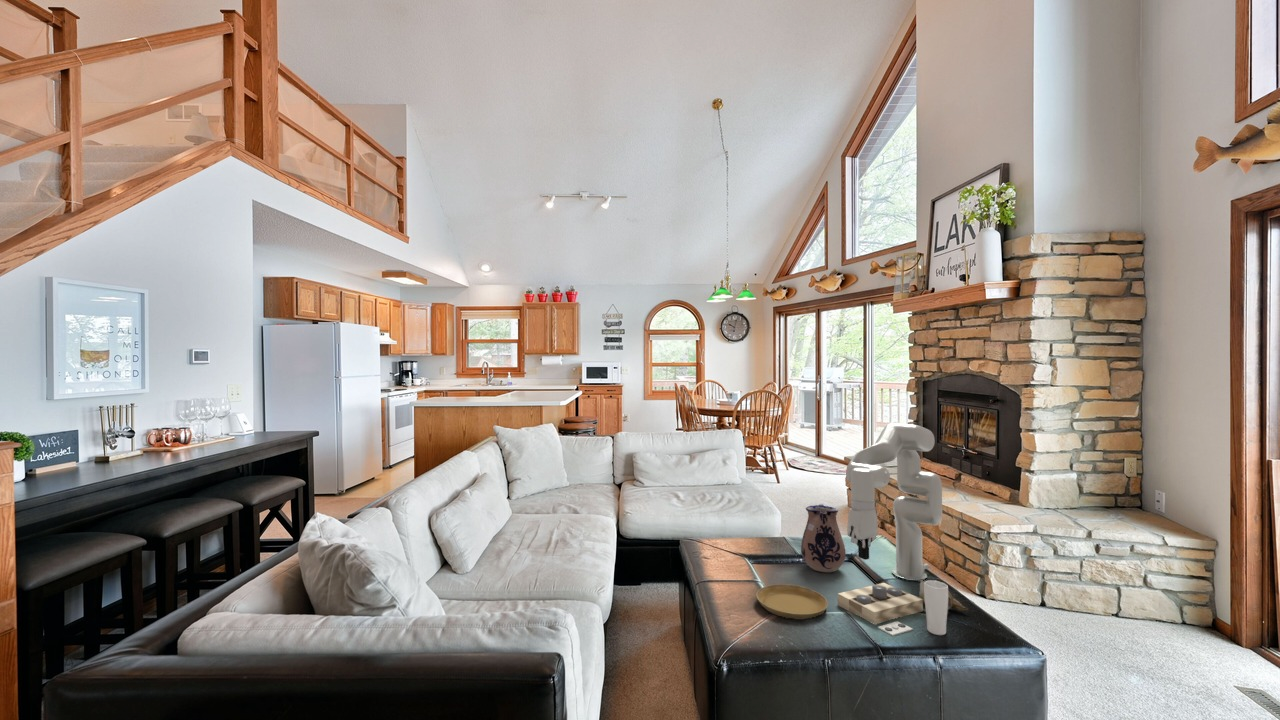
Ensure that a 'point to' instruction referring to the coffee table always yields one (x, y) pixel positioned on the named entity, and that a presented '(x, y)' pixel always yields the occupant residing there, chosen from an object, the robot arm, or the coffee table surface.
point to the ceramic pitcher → (822, 540)
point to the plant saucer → (792, 601)
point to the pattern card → (895, 628)
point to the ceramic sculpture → (951, 600)
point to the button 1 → (864, 599)
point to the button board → (880, 604)
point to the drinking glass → (936, 606)
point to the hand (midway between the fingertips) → (863, 558)
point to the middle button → (879, 592)
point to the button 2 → (894, 591)
